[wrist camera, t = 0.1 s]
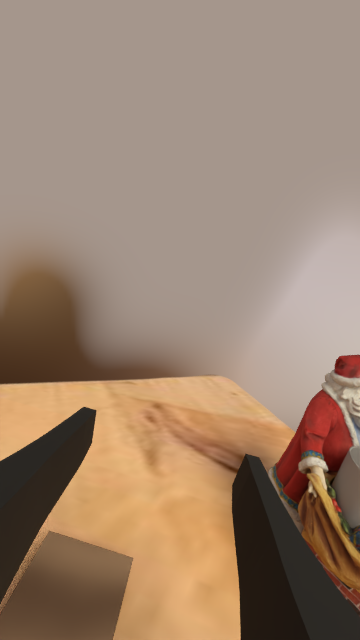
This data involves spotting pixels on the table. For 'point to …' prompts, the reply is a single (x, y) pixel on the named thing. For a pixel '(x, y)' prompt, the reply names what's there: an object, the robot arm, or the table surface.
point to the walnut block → (67, 593)
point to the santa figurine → (328, 477)
